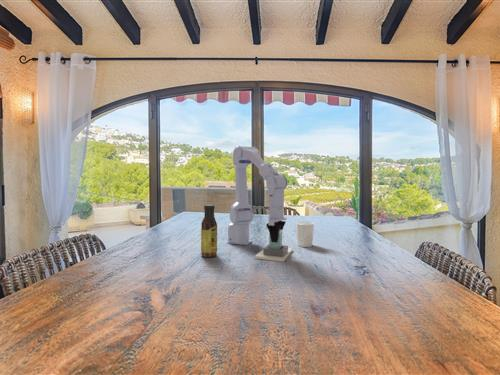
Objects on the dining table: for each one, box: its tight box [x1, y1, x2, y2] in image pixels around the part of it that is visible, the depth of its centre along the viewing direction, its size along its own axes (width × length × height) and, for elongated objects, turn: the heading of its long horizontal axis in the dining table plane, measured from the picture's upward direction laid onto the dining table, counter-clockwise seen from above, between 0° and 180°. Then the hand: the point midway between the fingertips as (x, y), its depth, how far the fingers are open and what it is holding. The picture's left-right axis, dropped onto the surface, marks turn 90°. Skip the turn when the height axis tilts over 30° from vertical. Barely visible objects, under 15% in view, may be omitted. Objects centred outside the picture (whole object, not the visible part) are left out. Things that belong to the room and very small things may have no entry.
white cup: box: [295, 221, 315, 248], centre depth 136 cm, size 8×8×10 cm
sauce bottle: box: [200, 204, 218, 258], centre depth 119 cm, size 7×6×20 cm
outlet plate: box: [254, 244, 294, 262], centre depth 122 cm, size 11×16×4 cm
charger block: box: [268, 229, 283, 249], centre depth 119 cm, size 4×4×7 cm
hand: (276, 240), depth 119 cm, fingers closed on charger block, 4 cm apart
